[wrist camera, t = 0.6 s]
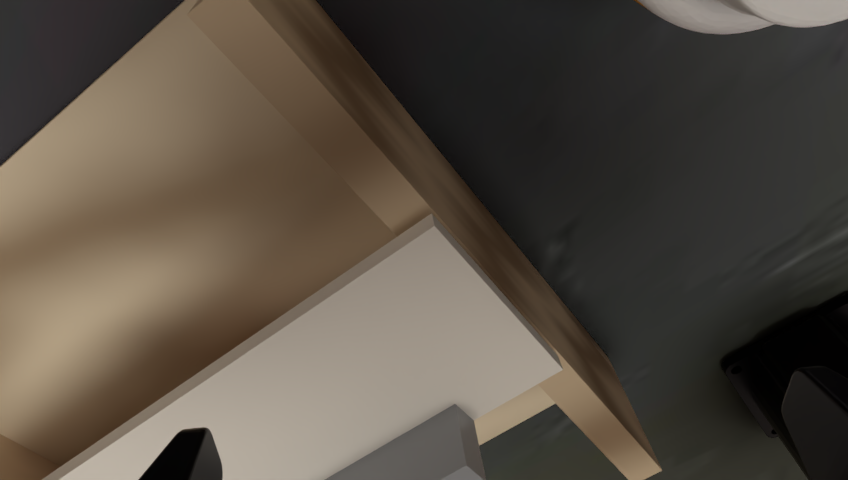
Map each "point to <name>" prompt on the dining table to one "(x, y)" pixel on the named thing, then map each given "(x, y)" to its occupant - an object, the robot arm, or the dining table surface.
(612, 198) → the dining table surface
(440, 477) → the lid
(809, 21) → the supplement bottle
